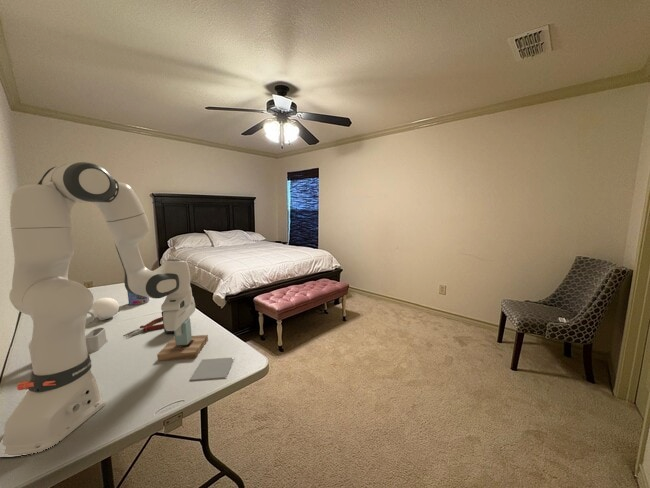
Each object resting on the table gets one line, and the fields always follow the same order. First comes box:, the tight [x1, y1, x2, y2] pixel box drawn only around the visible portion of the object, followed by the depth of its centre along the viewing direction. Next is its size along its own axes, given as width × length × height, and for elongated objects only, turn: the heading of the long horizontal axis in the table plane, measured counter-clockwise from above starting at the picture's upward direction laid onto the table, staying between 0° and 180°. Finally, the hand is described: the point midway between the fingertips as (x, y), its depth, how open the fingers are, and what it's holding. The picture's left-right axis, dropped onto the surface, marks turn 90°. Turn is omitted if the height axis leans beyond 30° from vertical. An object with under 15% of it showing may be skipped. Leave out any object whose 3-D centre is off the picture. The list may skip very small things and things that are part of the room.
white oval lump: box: [91, 297, 120, 321], centre depth 142 cm, size 12×12×15 cm
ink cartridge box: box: [126, 290, 150, 306], centre depth 164 cm, size 10×6×14 cm, turn 115°
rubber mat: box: [189, 357, 234, 382], centre depth 95 cm, size 12×12×1 cm
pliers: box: [122, 316, 164, 338], centre depth 128 cm, size 12×20×3 cm, turn 148°
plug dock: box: [156, 334, 209, 362], centre depth 108 cm, size 14×14×2 cm
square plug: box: [174, 318, 193, 345], centre depth 108 cm, size 4×4×9 cm
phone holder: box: [85, 309, 108, 354], centre depth 109 cm, size 17×10×18 cm, turn 107°
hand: (182, 331), depth 107 cm, fingers closed on square plug, 4 cm apart
